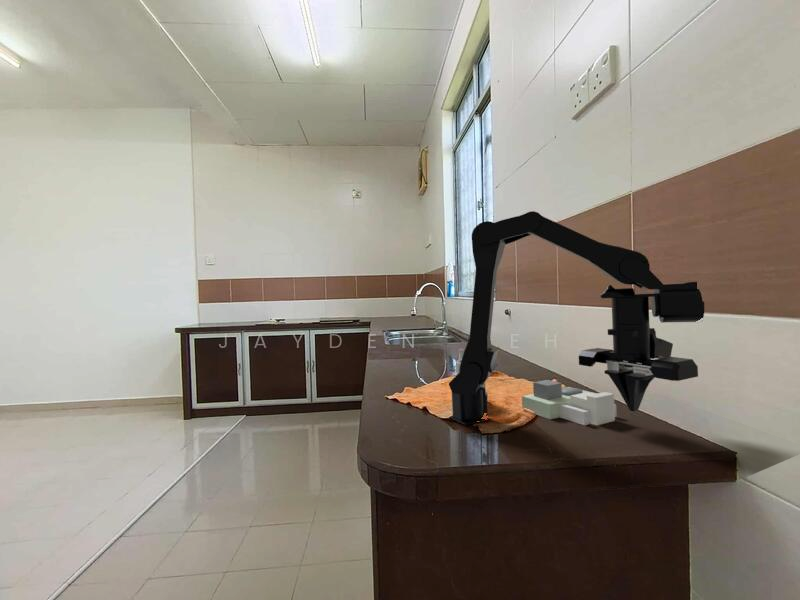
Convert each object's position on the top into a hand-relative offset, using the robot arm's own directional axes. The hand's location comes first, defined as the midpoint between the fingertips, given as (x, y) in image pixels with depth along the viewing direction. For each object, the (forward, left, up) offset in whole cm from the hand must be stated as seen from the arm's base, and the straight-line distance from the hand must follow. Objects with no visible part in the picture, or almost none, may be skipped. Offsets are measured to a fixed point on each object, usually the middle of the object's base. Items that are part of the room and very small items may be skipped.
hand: (633, 410), depth 72 cm
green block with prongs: (0, +14, -4) cm, 14 cm away
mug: (-12, +34, -4) cm, 36 cm away
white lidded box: (0, +9, -4) cm, 10 cm away
